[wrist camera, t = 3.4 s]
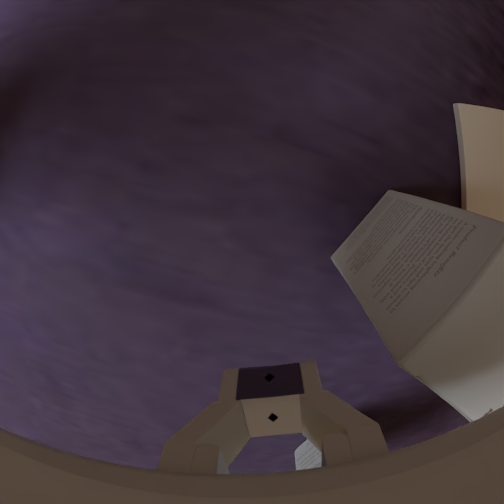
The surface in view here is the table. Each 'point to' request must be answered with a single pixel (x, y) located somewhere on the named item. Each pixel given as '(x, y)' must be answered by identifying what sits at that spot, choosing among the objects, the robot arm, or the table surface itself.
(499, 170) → the felt mat
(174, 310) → the table surface
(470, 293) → the small box
